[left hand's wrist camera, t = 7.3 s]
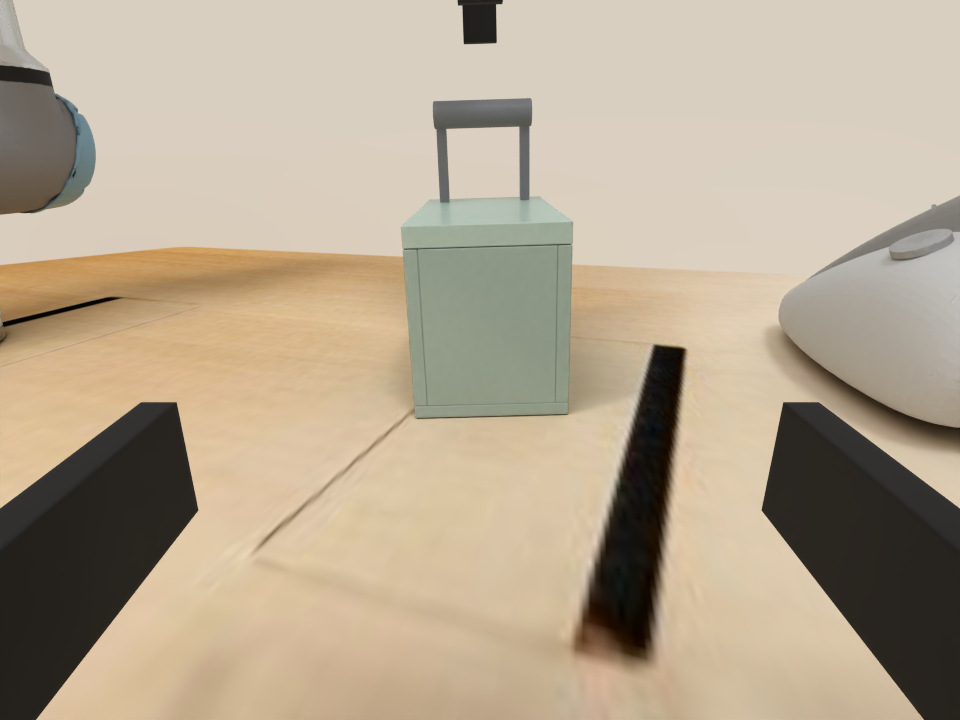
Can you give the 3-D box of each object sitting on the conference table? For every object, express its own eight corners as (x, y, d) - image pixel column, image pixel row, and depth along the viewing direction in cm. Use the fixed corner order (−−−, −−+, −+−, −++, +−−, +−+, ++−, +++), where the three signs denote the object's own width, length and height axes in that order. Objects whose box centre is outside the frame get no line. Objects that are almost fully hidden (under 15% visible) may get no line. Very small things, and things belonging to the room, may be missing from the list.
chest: (435, 333, 51) (429, 216, 48) (540, 330, 51) (540, 213, 48) (415, 418, 35) (402, 250, 31) (568, 414, 35) (572, 244, 31)
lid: (429, 214, 49) (423, 104, 46) (539, 211, 49) (540, 101, 46) (402, 249, 31) (389, 76, 29) (572, 244, 31) (577, 70, 28)
